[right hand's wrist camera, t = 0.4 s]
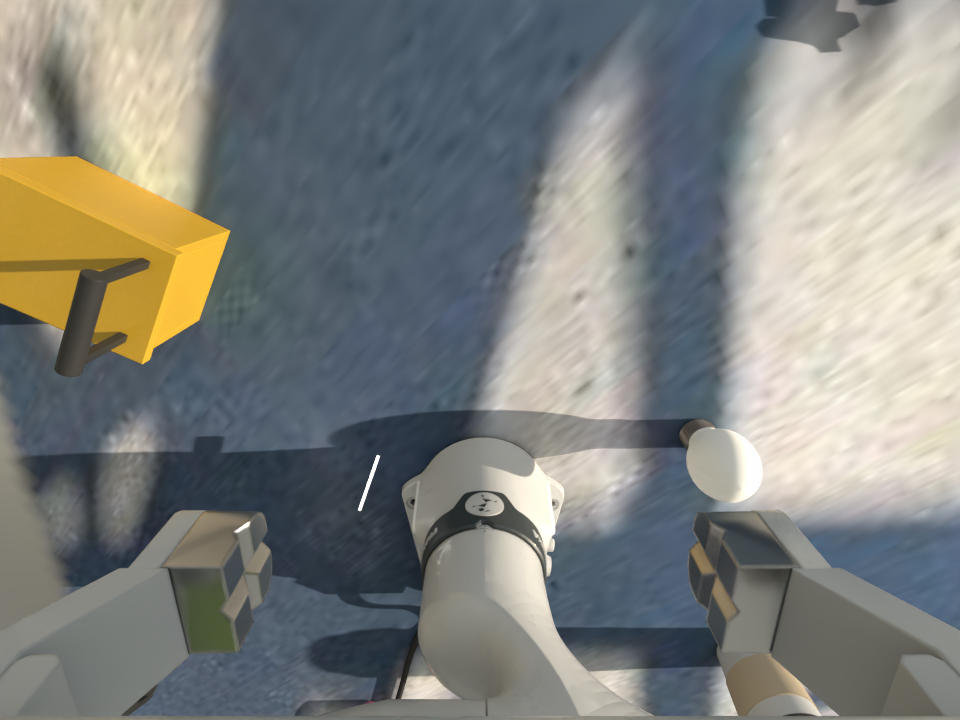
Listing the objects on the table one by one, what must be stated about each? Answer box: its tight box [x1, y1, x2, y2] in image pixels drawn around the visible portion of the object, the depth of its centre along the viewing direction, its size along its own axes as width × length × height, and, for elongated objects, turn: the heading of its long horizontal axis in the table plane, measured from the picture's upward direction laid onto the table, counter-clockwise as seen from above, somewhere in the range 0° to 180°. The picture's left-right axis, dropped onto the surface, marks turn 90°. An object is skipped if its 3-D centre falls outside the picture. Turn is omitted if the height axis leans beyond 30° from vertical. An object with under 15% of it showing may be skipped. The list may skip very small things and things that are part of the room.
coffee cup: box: [717, 647, 821, 716], centre depth 67 cm, size 9×9×15 cm
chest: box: [0, 156, 230, 348], centre depth 51 cm, size 15×10×11 cm
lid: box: [0, 167, 184, 377], centre depth 42 cm, size 16×10×8 cm, turn 63°
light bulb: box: [680, 420, 762, 502], centre depth 58 cm, size 7×7×11 cm
